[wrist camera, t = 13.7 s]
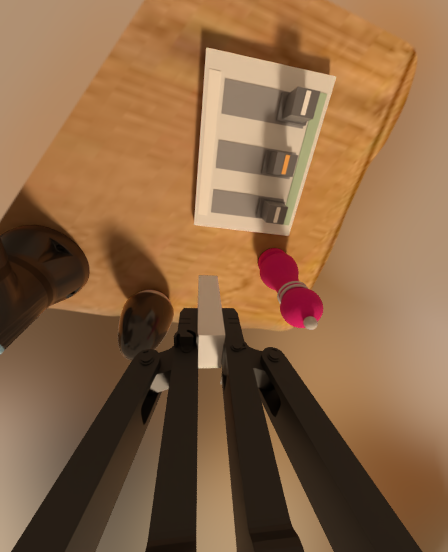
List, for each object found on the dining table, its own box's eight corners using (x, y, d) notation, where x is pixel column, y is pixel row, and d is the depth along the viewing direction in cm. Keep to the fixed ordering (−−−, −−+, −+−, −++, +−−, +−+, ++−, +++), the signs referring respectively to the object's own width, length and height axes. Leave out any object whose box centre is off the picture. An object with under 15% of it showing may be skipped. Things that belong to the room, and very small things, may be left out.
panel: (194, 221, 39) (193, 225, 38) (206, 54, 28) (206, 46, 26) (285, 232, 42) (288, 236, 40) (329, 81, 31) (336, 76, 29)
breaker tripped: (260, 172, 34) (268, 174, 30) (265, 150, 32) (273, 149, 28) (286, 176, 35) (296, 179, 31) (292, 154, 33) (303, 154, 29)
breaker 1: (255, 216, 37) (261, 223, 33) (259, 197, 36) (265, 202, 32) (278, 219, 38) (287, 226, 34) (283, 201, 36) (293, 206, 32)
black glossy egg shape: (149, 325, 51) (129, 383, 38) (120, 294, 46) (85, 349, 33) (184, 308, 49) (176, 363, 36) (158, 275, 44) (137, 325, 31)
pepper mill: (268, 239, 42) (310, 297, 25) (295, 254, 44) (352, 317, 27) (249, 267, 45) (275, 337, 28) (275, 280, 47) (315, 352, 30)
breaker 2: (275, 120, 31) (285, 115, 27) (281, 92, 29) (293, 82, 25) (303, 126, 31) (317, 121, 27) (311, 99, 30) (327, 90, 26)
